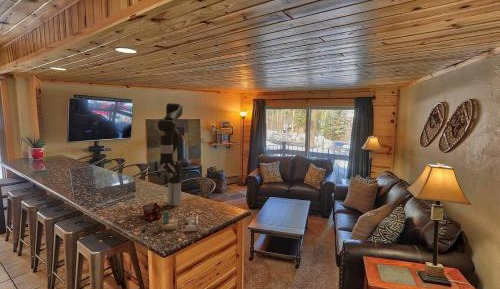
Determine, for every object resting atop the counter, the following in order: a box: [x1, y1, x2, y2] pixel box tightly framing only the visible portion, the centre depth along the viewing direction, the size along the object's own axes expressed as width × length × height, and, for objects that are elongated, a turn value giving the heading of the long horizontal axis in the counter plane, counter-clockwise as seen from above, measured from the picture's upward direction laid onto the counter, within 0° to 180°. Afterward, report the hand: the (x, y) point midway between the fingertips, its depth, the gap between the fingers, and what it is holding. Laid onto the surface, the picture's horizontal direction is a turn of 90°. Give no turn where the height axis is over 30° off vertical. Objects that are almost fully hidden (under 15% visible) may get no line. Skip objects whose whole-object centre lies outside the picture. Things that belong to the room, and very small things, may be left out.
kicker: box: [160, 210, 179, 229], centre depth 160 cm, size 8×9×9 cm
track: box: [143, 220, 181, 232], centre depth 159 cm, size 9×20×2 cm, turn 100°
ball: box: [187, 220, 196, 226], centre depth 162 cm, size 4×4×4 cm
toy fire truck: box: [142, 201, 163, 223], centre depth 171 cm, size 7×12×10 cm, turn 139°
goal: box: [185, 214, 199, 232], centre depth 162 cm, size 13×7×4 cm, turn 10°
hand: (166, 177), depth 167 cm, fingers open, 8 cm apart
